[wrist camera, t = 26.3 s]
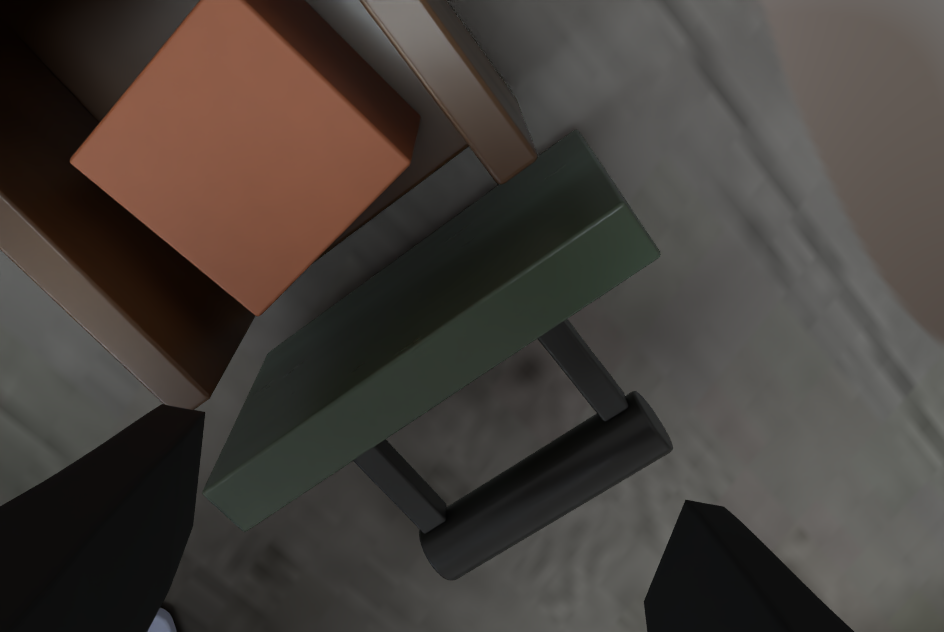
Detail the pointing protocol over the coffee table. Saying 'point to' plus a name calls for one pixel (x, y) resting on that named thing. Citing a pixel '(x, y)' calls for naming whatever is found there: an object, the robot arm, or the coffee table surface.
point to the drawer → (366, 308)
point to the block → (251, 143)
